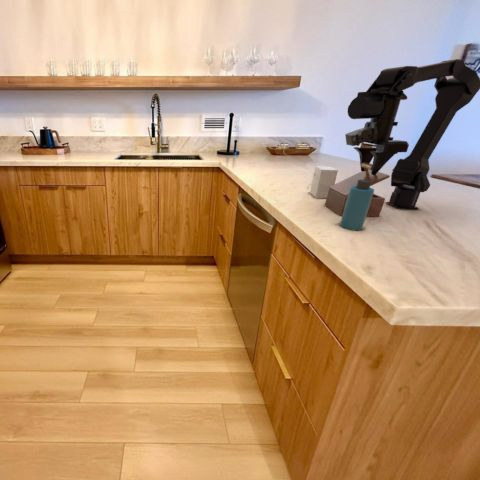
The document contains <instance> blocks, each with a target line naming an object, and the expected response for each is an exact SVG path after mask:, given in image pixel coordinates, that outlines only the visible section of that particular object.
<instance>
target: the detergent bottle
mask: <svg viewBox="0 0 480 480" xmlns="http://www.w3.org/2000/svg"><path fill="white" fill-rule="evenodd" d="M370 185H371V181H369V180H358V181H357V185H356V186H351V187H350V191H349V194H348V198H347V201H346V205H345V208H344V212H343V215H342V216H341V219H340V223H339V226H340V227H341V228H343V229H347V230H350V231H361V230H363V228H364V224H365V221H366V219H367V216H366V215H367V212H368V209H369V206H370V203H371V199H372V196H373V193H374V194H375V189H374V188H373V187H371V186H370Z"/></svg>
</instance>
